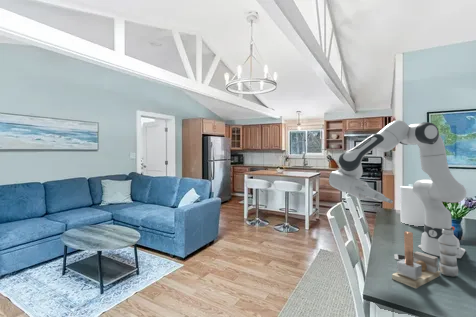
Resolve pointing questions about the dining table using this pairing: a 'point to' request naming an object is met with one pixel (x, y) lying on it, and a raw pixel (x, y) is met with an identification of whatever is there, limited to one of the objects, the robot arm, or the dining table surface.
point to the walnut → (422, 265)
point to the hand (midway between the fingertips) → (390, 201)
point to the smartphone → (400, 257)
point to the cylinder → (411, 207)
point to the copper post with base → (409, 260)
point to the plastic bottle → (448, 253)
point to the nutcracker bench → (426, 275)
